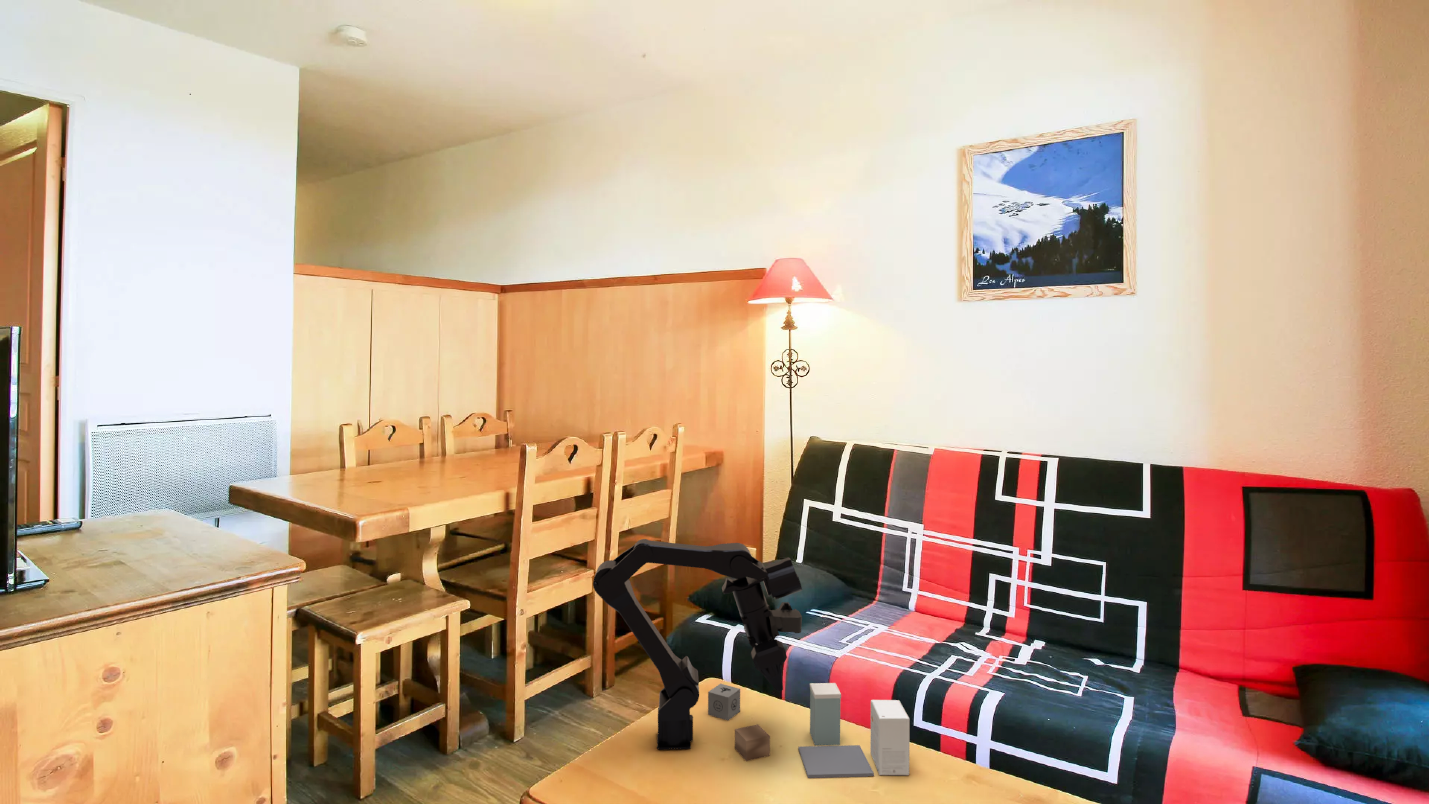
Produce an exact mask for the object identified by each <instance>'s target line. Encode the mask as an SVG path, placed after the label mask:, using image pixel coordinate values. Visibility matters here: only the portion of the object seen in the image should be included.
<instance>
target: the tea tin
mask: <svg viewBox="0 0 1429 804" xmlns="http://www.w3.org/2000/svg"><path fill="white" fill-rule="evenodd" d="M809 689H810V693H809V696H810V698H809V701H810V702H809V706H810V707H809V734H810V737H811V740H812V742H813V745H814V746H841V701H842V700H841V699H842V693H841V692H840V689H839V687H838V686H837V683H836V682H825V683H824V682H823V683H821V682H819V683H818V682H817V683H816V682H815V683H812V682H811V683H809Z"/></svg>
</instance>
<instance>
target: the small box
mask: <svg viewBox="0 0 1429 804" xmlns="http://www.w3.org/2000/svg"><path fill="white" fill-rule="evenodd" d="M910 722H911V721H910V717H909V715H908V714H907V712H906V710H905V708H904V707H903V704H902V703H901V701H900V700H899V699H898V700H896V699H871V700H870V756H871V757H872V760H873V763H874V766H875V768H876V771H877V772H878V775H879V776H909V775H910V724H911V723H910Z"/></svg>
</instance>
